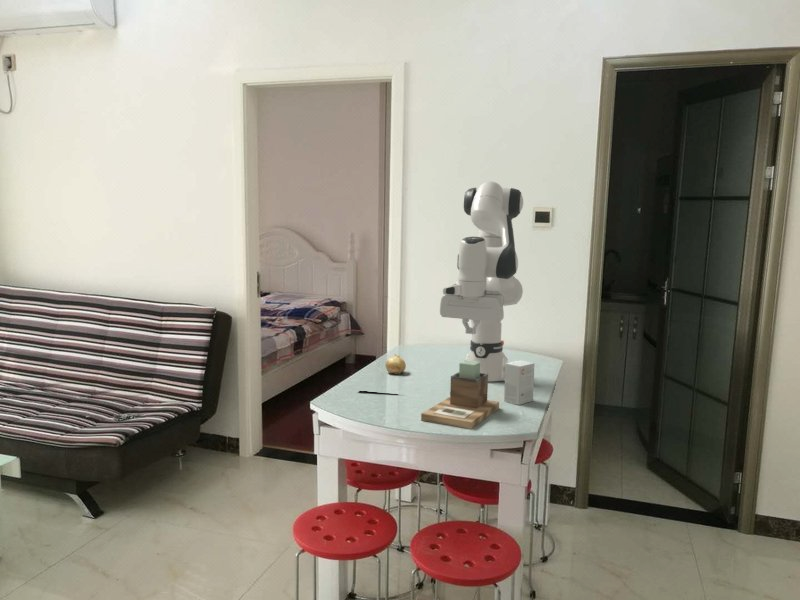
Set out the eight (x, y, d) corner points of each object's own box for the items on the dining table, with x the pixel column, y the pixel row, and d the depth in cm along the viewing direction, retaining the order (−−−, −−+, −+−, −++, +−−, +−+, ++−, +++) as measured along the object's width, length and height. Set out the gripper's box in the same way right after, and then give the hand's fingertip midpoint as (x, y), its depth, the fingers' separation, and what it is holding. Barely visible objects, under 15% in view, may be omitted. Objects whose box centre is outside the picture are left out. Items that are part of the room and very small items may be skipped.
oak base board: (452, 400, 211) (453, 368, 210) (499, 408, 204) (500, 374, 203) (421, 420, 190) (421, 384, 189) (471, 428, 183) (472, 391, 182)
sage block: (465, 375, 205) (465, 360, 204) (479, 377, 202) (480, 362, 202) (459, 378, 200) (459, 363, 200) (474, 380, 198) (474, 365, 197)
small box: (518, 397, 217) (519, 359, 216) (533, 401, 213) (535, 362, 211) (503, 401, 212) (504, 362, 210) (519, 405, 207) (520, 366, 206)
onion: (408, 374, 247) (408, 356, 246) (389, 376, 245) (389, 357, 244) (401, 370, 255) (401, 352, 254) (382, 371, 252) (382, 353, 251)
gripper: (507, 290, 196) (505, 335, 198) (446, 286, 205) (445, 329, 207) (500, 292, 190) (499, 338, 192) (438, 288, 200) (437, 332, 201)
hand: (470, 333), depth 200 cm, fingers closed
